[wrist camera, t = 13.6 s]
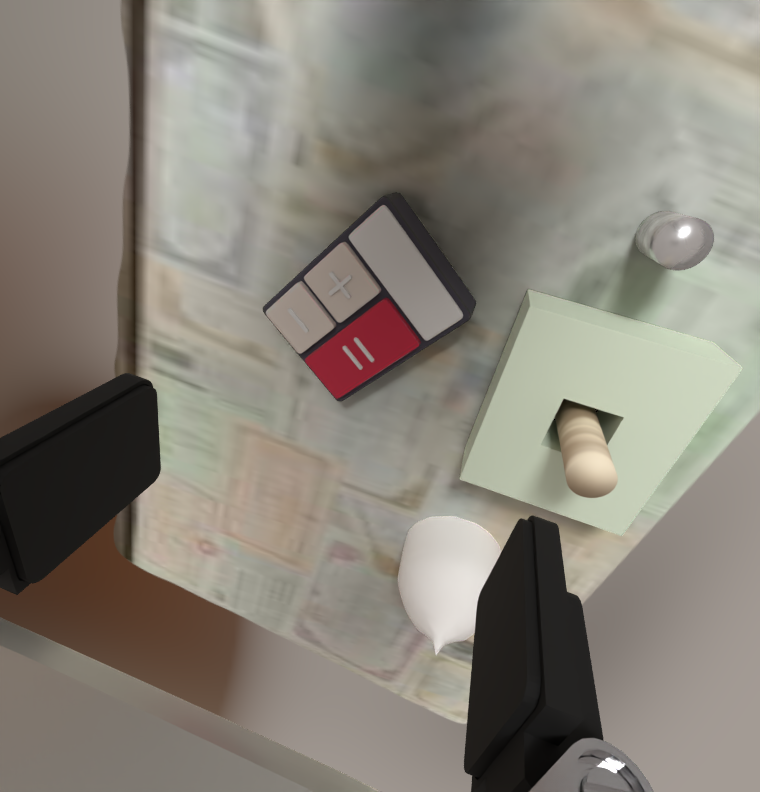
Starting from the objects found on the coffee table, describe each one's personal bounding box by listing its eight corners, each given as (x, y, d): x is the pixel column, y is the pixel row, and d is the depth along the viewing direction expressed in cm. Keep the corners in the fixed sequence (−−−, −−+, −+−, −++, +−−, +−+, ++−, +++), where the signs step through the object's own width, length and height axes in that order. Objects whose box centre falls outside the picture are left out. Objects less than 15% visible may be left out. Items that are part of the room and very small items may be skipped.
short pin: (648, 205, 30) (672, 211, 25) (694, 217, 29) (725, 225, 25) (627, 250, 31) (645, 262, 27) (670, 261, 31) (695, 276, 27)
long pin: (561, 380, 37) (578, 453, 27) (597, 391, 36) (626, 469, 27) (547, 410, 38) (558, 488, 29) (581, 420, 38) (604, 504, 28)
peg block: (527, 288, 34) (530, 305, 30) (712, 342, 32) (743, 367, 28) (464, 447, 42) (459, 479, 38) (610, 497, 40) (622, 536, 36)
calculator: (255, 312, 38) (382, 193, 30) (279, 298, 41) (398, 189, 34) (335, 407, 40) (472, 320, 32) (351, 386, 44) (478, 303, 36)
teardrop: (404, 578, 53) (378, 677, 42) (402, 508, 48) (373, 600, 38) (499, 596, 50) (495, 707, 40) (507, 523, 45) (506, 627, 35)
